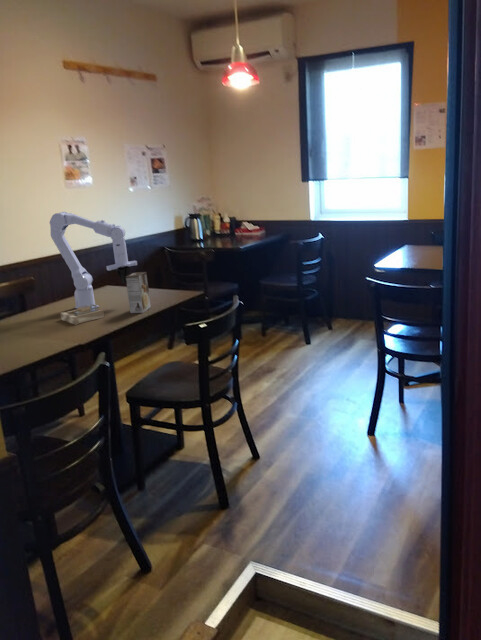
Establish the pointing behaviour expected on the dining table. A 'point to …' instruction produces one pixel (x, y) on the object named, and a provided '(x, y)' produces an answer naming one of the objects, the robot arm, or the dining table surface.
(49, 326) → the dining table surface
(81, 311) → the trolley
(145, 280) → the coffee box
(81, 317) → the dock bay
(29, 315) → the dining table surface
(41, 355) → the dining table surface
